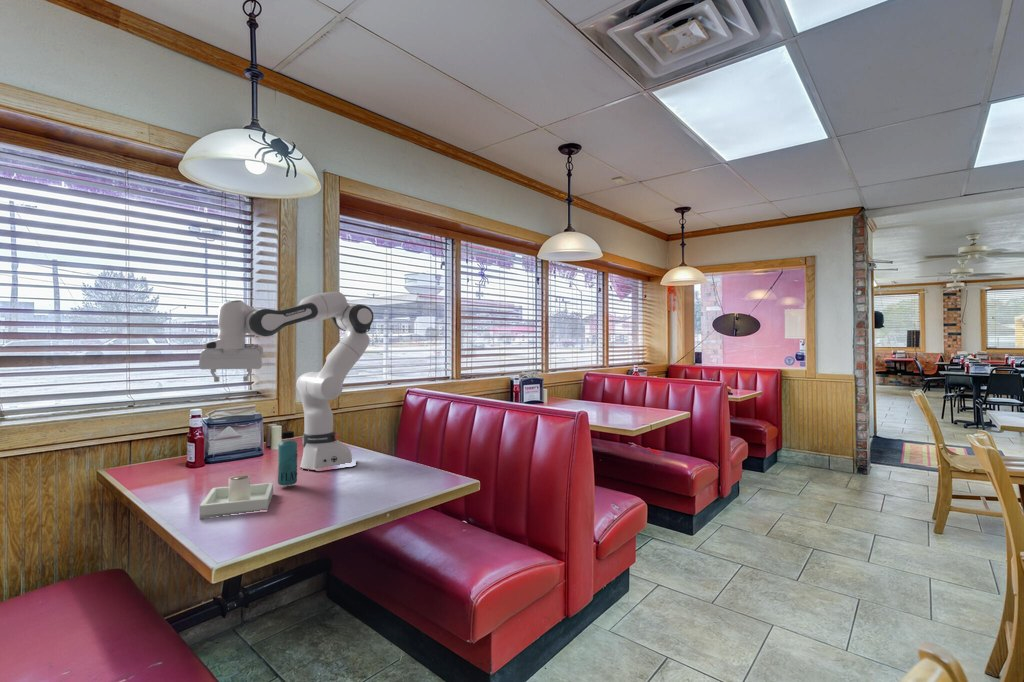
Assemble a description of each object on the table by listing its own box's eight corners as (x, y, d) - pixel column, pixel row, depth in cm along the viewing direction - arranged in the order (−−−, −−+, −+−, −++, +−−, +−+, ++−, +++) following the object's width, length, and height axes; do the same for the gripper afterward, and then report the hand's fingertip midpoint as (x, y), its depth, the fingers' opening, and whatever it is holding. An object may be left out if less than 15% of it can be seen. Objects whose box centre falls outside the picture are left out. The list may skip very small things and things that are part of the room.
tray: (273, 494, 167) (273, 482, 167) (267, 512, 150) (267, 499, 150) (212, 500, 161) (212, 487, 161) (199, 519, 144) (199, 505, 144)
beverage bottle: (277, 491, 171) (278, 433, 170) (277, 485, 177) (277, 430, 176) (298, 488, 174) (298, 432, 173) (296, 483, 180) (297, 429, 179)
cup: (251, 498, 159) (251, 474, 159) (248, 504, 154) (248, 479, 154) (230, 500, 157) (230, 475, 157) (226, 506, 152) (226, 481, 152)
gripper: (264, 344, 187) (263, 380, 187) (202, 343, 180) (201, 381, 180) (262, 344, 181) (261, 381, 181) (197, 344, 174) (197, 382, 174)
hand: (231, 381), depth 181 cm, fingers open, 8 cm apart
